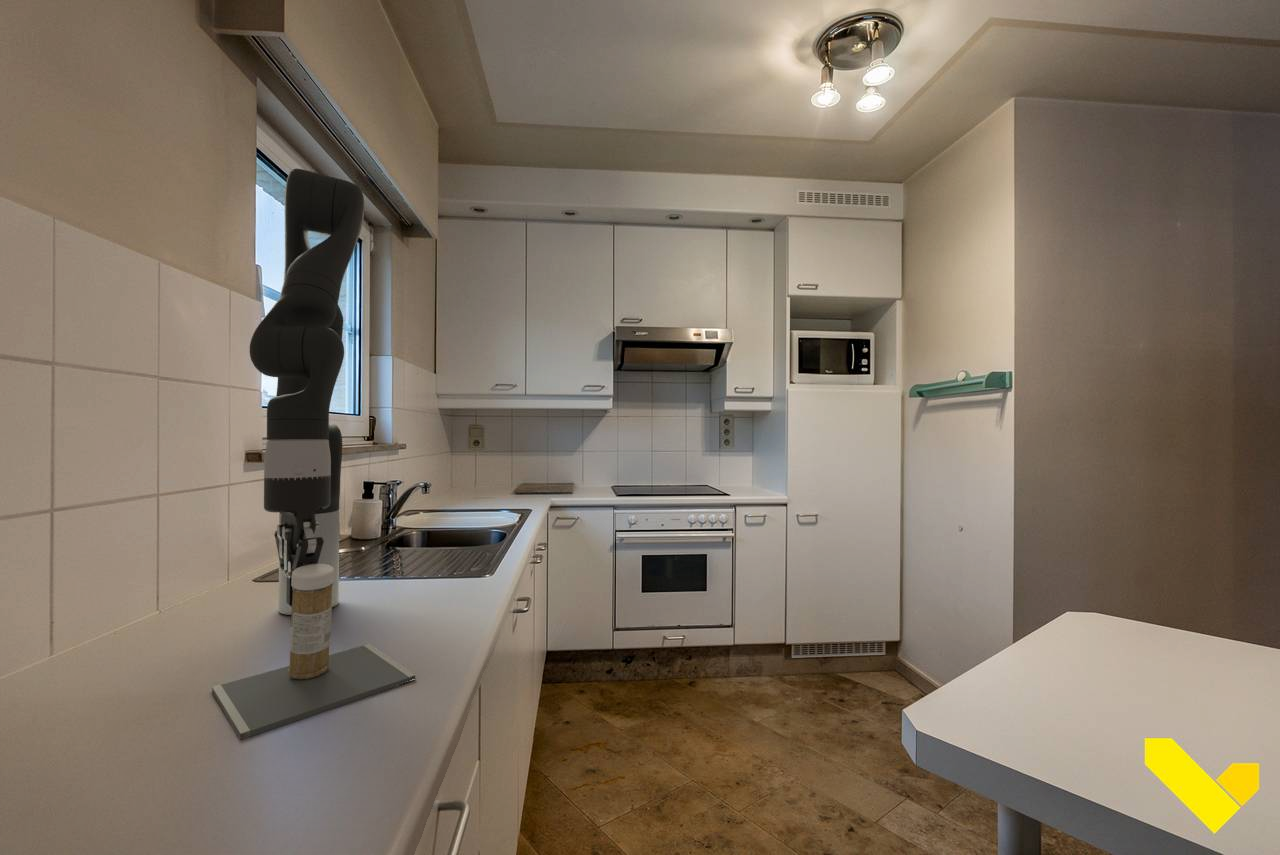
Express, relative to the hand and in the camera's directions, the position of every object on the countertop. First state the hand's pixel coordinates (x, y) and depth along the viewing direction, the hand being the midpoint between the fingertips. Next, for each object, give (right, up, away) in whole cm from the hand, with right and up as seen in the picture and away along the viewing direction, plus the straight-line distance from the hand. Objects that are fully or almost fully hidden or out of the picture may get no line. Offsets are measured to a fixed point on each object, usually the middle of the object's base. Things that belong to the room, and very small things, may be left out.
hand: (297, 604), depth 71 cm
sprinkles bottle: (+3, -8, -3) cm, 9 cm away
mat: (+6, -8, -5) cm, 11 cm away
